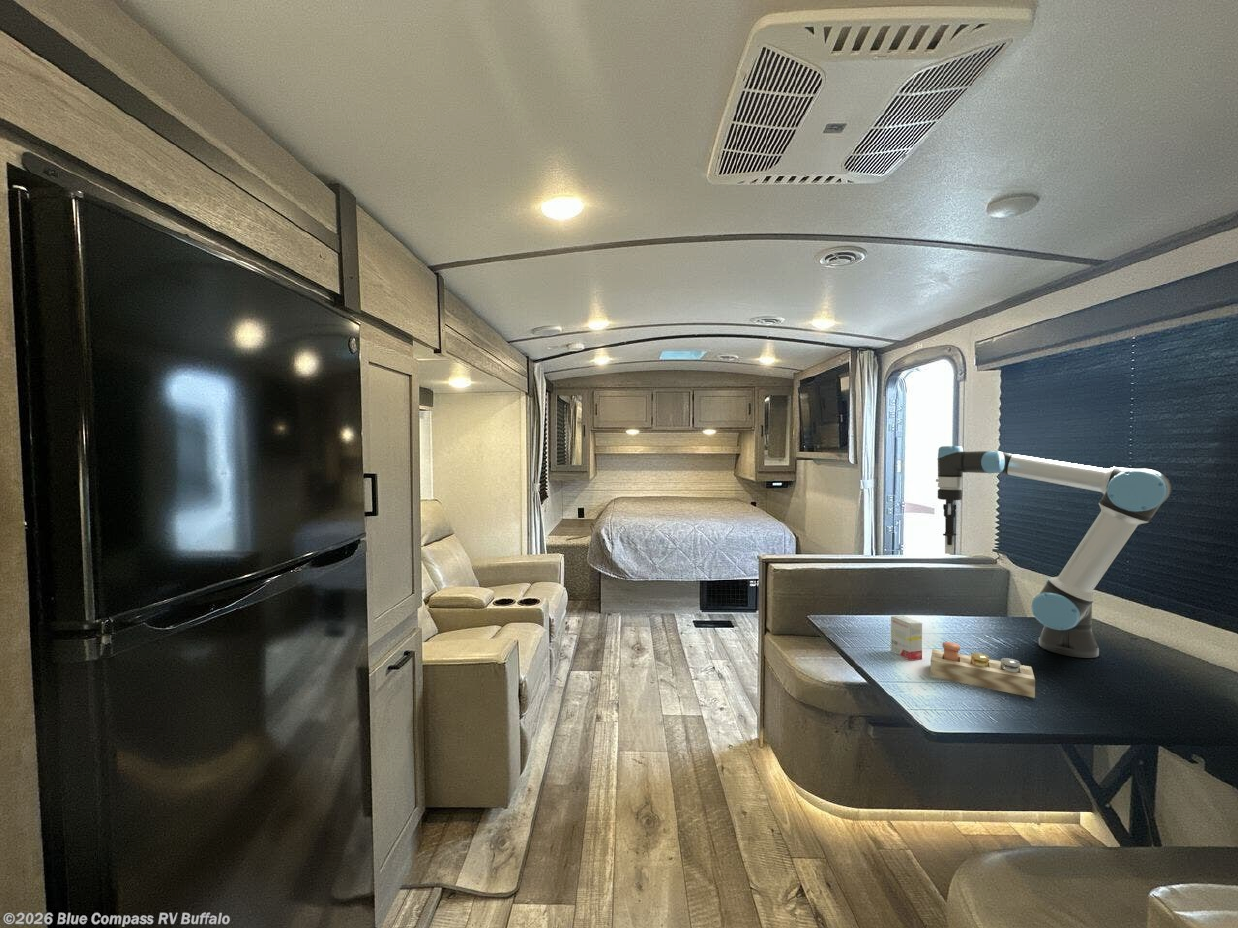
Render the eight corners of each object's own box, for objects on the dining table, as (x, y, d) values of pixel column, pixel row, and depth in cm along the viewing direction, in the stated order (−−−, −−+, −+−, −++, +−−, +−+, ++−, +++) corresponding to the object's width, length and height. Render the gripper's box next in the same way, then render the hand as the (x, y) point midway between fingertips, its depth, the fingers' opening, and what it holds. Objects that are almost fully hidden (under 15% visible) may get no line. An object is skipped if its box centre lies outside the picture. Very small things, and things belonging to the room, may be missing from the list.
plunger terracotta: (960, 665, 154) (960, 643, 153) (959, 670, 150) (960, 648, 150) (942, 662, 156) (942, 640, 156) (942, 667, 152) (942, 645, 152)
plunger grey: (1019, 682, 146) (1019, 660, 146) (1020, 688, 142) (1021, 665, 142) (1000, 679, 148) (1000, 656, 148) (1001, 684, 145) (1001, 661, 145)
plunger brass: (989, 677, 150) (989, 654, 150) (989, 682, 146) (989, 659, 146) (970, 673, 152) (970, 651, 152) (970, 678, 149) (970, 656, 148)
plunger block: (1031, 684, 147) (1031, 666, 146) (1034, 697, 138) (1035, 679, 138) (932, 665, 160) (932, 649, 160) (930, 676, 152) (930, 659, 152)
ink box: (923, 659, 165) (923, 622, 165) (910, 660, 164) (910, 623, 163) (902, 649, 173) (902, 614, 173) (890, 650, 172) (890, 615, 172)
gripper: (938, 487, 194) (938, 549, 195) (936, 489, 184) (936, 555, 184) (962, 487, 190) (962, 551, 191) (962, 490, 179) (961, 557, 180)
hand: (949, 553), depth 187 cm, fingers closed
